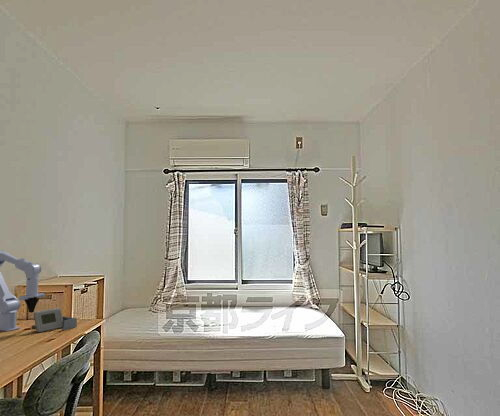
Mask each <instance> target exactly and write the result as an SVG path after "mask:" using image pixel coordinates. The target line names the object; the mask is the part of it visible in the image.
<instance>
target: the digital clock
mask: <svg viewBox="0 0 500 416" xmlns="http://www.w3.org/2000/svg"><path fill="white" fill-rule="evenodd" d="M62 317H63V314H62V310H61V308H60V307H57V308H55V307H54V308H49V309H43V310H38V311H34V312H33V319H34V320H33V321H34V325H36V329H35V330H36V332H37V333H45V332H50V331H53V330H54V329H55V330H59V329H62V321H63V318H62ZM55 330H54V331H55Z"/></svg>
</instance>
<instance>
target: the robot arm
mask: <svg viewBox="0 0 500 416" xmlns="http://www.w3.org/2000/svg"><path fill="white" fill-rule="evenodd" d="M5 262H7V263H10V264H12V265H14V266H15V268H16V269H18V270H20V271H22V272H24V274H25V277H26V278H25V279H26V285H25V295H21V296H18V298H17V297H16V296H15V295H14V294H12V293H11V292H10V290H9V287H8V285H7V283H6V281H5V278H4V276H3V274H2V272H1V271H0V331H3V332H10V331H15V330H18V329H21V327H19V326H17V317H18V316H17V313H18V311H19V310H20V307H21V302H20V301H24V302H25V304H26V306H27V309H28V313H31V314H32V313H34V312H35V308H36V306H37V304H38V302H39V301H40V298H44V297H45V293H44V292H40V293H39V276H40V275H39V274H40V273H41V272H42V266H41V265H40V264H39V263H33V261H28V260H27V259H26V258H25V257H22V258H21V257H19V258H17V257H15V256H13V255H12V254H10V253H8V251H7V250H0V268H1V267H2V266H3V264H4V263H5Z"/></svg>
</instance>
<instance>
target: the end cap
mask: <svg viewBox="0 0 500 416" xmlns="http://www.w3.org/2000/svg"><path fill="white" fill-rule="evenodd" d="M62 318H63V321H62V328H61V331H67V330H71V329H74V328H77V327H78V326H77V325H78V323H77V321H78V318H77V317H71V316H62Z"/></svg>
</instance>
